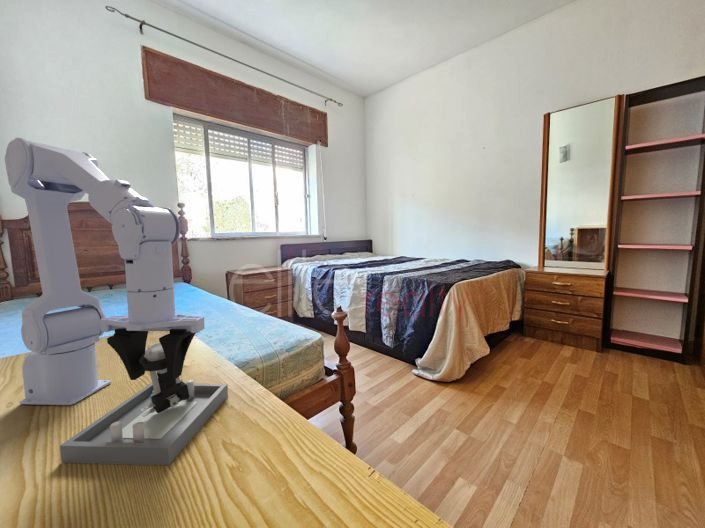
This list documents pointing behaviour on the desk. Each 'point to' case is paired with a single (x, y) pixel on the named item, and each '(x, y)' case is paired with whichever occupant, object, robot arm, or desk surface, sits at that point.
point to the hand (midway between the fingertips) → (156, 377)
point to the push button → (161, 381)
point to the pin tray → (144, 429)
